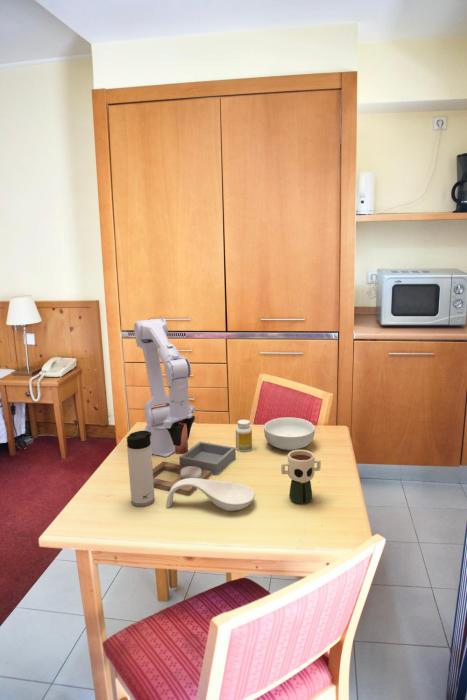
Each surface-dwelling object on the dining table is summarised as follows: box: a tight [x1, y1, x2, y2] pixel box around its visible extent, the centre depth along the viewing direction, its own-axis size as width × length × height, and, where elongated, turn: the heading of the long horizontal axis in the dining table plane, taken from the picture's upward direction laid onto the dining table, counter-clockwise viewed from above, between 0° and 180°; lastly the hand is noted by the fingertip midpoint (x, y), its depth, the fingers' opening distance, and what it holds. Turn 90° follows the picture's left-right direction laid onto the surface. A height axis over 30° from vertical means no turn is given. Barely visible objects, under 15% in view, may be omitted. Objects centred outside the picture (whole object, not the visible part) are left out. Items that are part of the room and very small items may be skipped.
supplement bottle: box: [235, 419, 253, 453], centre depth 178 cm, size 5×5×10 cm
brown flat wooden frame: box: [152, 460, 212, 496], centre depth 158 cm, size 17×13×4 cm
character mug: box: [280, 449, 322, 504], centre depth 145 cm, size 11×7×13 cm, turn 100°
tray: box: [179, 441, 237, 476], centre depth 169 cm, size 13×13×4 cm
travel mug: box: [126, 430, 155, 508], centre depth 145 cm, size 6×7×20 cm
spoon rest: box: [165, 478, 256, 512], centre depth 144 cm, size 24×12×7 cm, turn 87°
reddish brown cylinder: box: [174, 421, 189, 455], centre depth 160 cm, size 4×4×9 cm
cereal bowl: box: [263, 417, 316, 451], centre depth 180 cm, size 17×17×7 cm
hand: (181, 442), depth 161 cm, fingers closed on reddish brown cylinder, 4 cm apart
